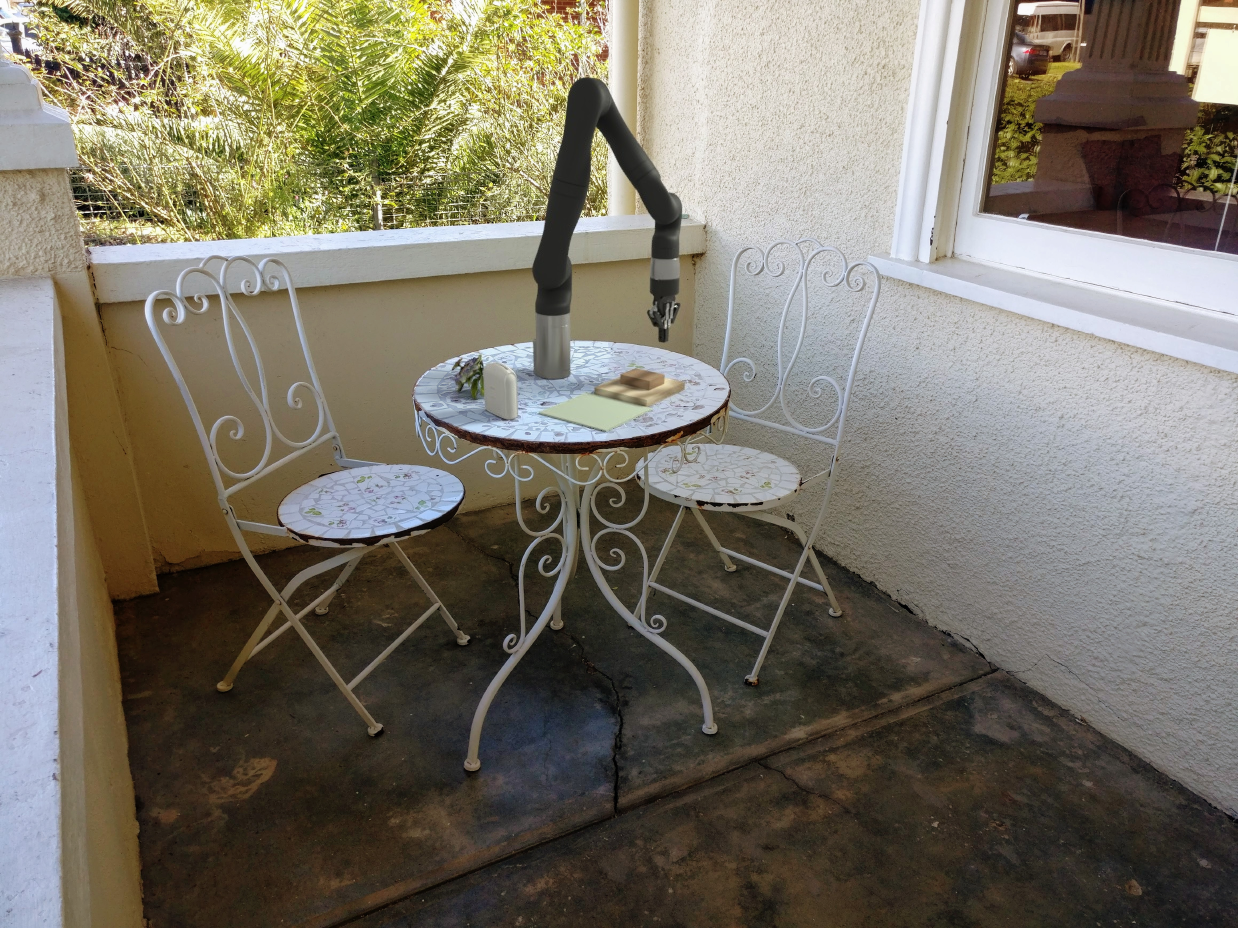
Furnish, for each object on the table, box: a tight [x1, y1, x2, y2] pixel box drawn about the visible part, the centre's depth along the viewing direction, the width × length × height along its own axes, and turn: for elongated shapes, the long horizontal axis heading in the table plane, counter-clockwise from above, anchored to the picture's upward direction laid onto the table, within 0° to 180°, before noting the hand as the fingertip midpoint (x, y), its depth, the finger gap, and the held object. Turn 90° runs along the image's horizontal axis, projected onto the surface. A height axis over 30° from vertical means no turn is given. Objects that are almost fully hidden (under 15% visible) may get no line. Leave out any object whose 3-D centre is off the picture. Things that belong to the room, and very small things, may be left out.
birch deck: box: [593, 376, 686, 408], centre depth 227 cm, size 16×18×2 cm
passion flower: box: [451, 353, 485, 401], centre depth 224 cm, size 11×11×12 cm
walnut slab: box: [619, 368, 666, 391], centre depth 227 cm, size 9×7×2 cm
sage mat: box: [538, 391, 653, 433], centre depth 213 cm, size 20×19×1 cm
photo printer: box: [483, 361, 519, 420], centre depth 208 cm, size 10×4×12 cm, turn 39°
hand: (663, 341), depth 231 cm, fingers closed
